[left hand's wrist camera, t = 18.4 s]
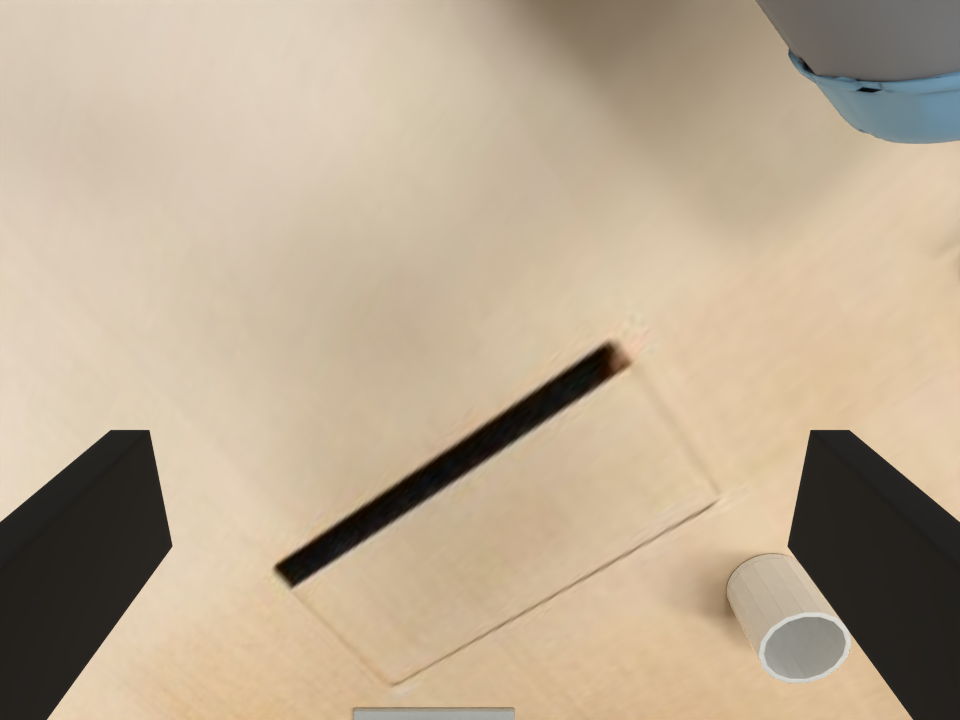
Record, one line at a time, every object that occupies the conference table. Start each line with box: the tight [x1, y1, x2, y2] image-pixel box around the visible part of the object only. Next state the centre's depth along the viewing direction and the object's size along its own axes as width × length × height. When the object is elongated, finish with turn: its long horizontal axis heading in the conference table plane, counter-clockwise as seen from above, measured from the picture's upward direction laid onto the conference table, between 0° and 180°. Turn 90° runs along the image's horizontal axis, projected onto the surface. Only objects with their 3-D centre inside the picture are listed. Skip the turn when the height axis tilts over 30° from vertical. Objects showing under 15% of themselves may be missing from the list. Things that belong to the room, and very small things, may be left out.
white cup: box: [727, 554, 851, 683], centre depth 48 cm, size 6×6×6 cm
